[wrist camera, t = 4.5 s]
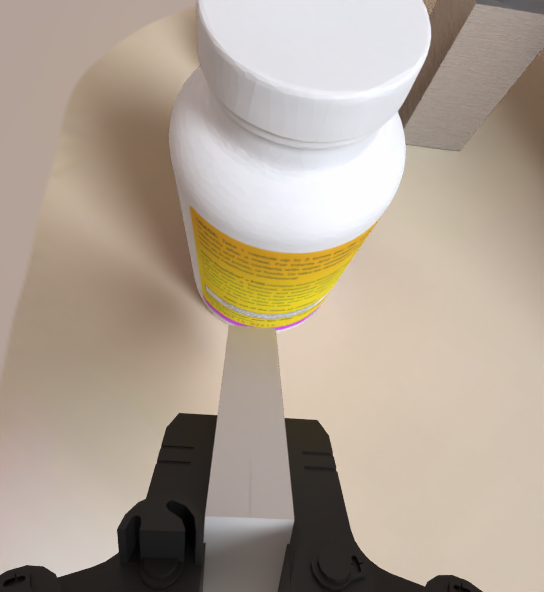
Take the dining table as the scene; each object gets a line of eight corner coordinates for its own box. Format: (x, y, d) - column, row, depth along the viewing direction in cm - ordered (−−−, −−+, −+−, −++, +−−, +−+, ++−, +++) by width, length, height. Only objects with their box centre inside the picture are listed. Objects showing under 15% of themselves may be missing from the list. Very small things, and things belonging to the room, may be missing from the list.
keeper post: (452, 101, 25) (548, -42, 18) (459, 151, 24) (566, 18, 16) (392, 92, 25) (464, -57, 17) (396, 142, 23) (476, 3, 16)
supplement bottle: (345, 318, 19) (546, 114, 7) (213, 353, 18) (186, 179, 6) (302, 204, 21) (402, -104, 9) (181, 229, 20) (111, -94, 8)
